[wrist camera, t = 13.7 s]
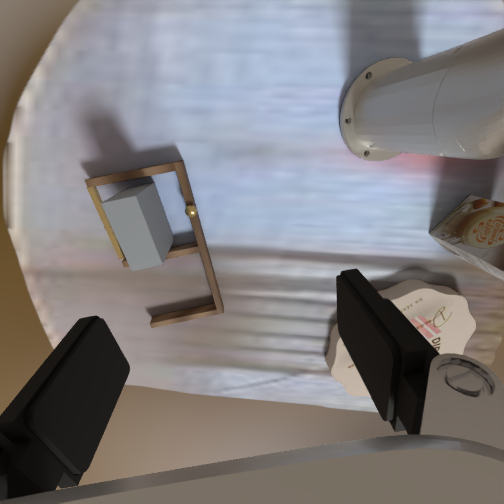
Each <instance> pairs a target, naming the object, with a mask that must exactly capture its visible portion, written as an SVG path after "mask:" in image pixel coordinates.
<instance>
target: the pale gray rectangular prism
mask: <svg viewBox="0 0 504 504" xmlns="http://www.w3.org/2000/svg"><path fill="white" fill-rule="evenodd" d="M101 205H102V207H103V210H104V212H105V214H106V216H107V218H108V220H109V223H110V225H111V227H112V229H113V231H114V234H115V236H116V238H117V240H118V242H119V244H120V247H121V249H122V251H123V253H124V255H125V257H126V260H127V262H128V264H129V266H130V268H131V271H136V270H140V269H145V268H149V267H154V266H158V265H163V263H164V260H165V258H166V256H167V254H168V252H169V249H170V247H171V245H172V243H173V241H174V236H173V233H172V231H171V228H170V225H169V222H168V219H167V216H166V214H165V211H164V208H163V205H162V202H161V199H160V197H159V194H158V191H157V188H156V185H155V182H154V183H150V184H145V185H140V186H135V187H131V188H127V189H125V190H123V191H122V192H120V193H118V194H116V195H114V196H113V197H111V198H109V199H107V200H106V201H104V202H102V203H101Z"/></svg>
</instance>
